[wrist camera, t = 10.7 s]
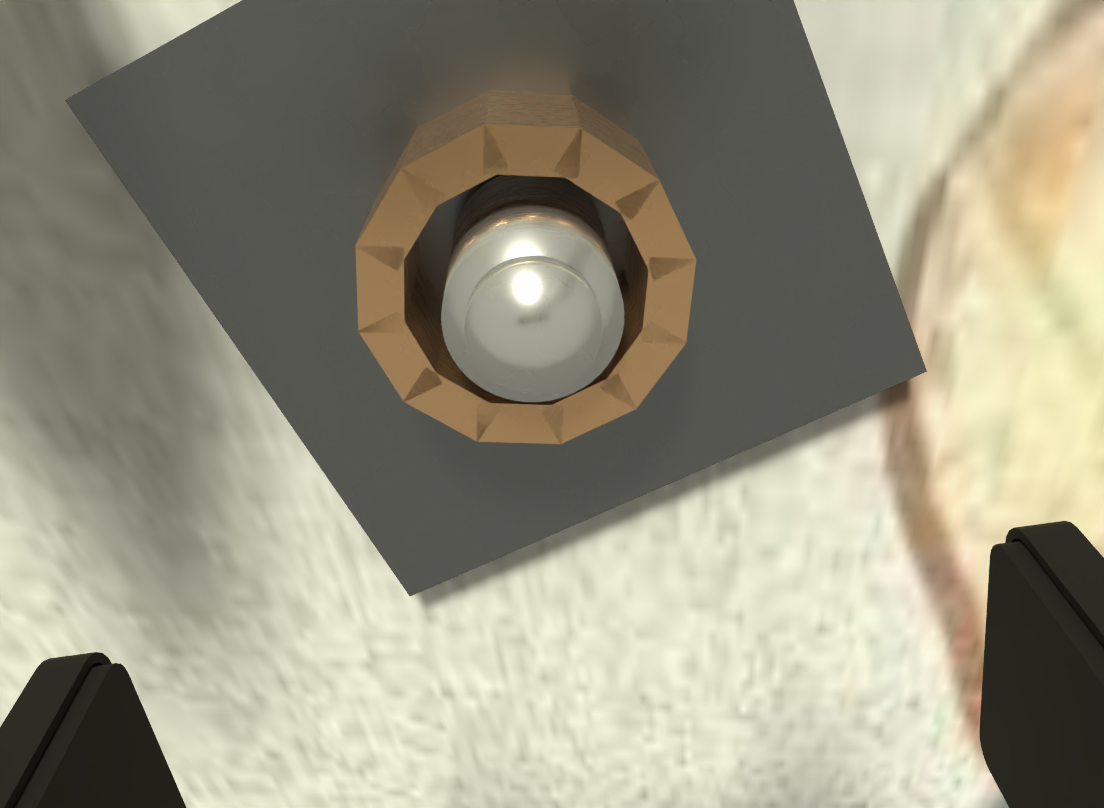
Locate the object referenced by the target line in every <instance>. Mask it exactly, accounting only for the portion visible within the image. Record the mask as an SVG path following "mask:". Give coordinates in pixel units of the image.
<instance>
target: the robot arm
mask: <svg viewBox="0 0 1104 808" xmlns="http://www.w3.org/2000/svg"><path fill="white" fill-rule="evenodd" d="M980 742H981V747H982V751H983V755H984V758H985V761H986V764H987V766H988V768H989V770H990V772H991V774H992V776H993V778H994V780H995V782H996V783H997V785H998V787H999V789H1000V791H1001V793H1002V795H1003V797H1004V798H1005V800H1006V802H1007V804H1008V806H1009V808H1104V558H1103V557H1102V555H1101V554H1100V553H1099V552H1098V551H1097V550H1096V549H1095V547H1094V546H1093V545H1092V544H1091V543H1090V542H1089V541H1088V539H1087V538H1086V537H1085V536H1084V535H1083V534H1082V533H1081V531H1080V530H1079V529H1078V528H1077V527H1076V526H1075V525H1074V524H1072V523H1071V522H1067V521H1061V522H1054V523H1046V524H1039V525H1031V526H1024V527H1017V528H1013V529H1011V530H1009V532H1008V534H1007V536H1006V542H1005V543H1003V544H996V545H994V546H993V548H992V550H991V554H990V567H989V583H988V600H987V617H986V633H985V650H984V666H983V683H982V700H981V716H980ZM0 808H186V806H185V804H184V801H183V799H182V797H181V794H180V792H179V790H178V787H177V785H176V783H175V780H174V778H173V776H172V773H171V771H170V769H169V767H168V764H167V762H166V760H165V757H164V755H163V753H162V750H161V748H160V746H159V743H158V741H157V739H156V736H155V734H154V732H153V729H152V727H151V725H150V722H149V720H148V718H147V716H146V713H145V711H144V709H143V706H142V704H141V702H140V699H139V697H138V695H137V692H136V690H135V688H134V685H133V683H132V681H131V678H130V676H129V674H128V672H127V670H126V669H125V667H124V666H123V665H121V664H118V663H114V664H112V663H111V662H110V660H109V658H108V657H107V656H105V655H104V654H103V653H98V652H95V653H87V654H80V655H73V656H65V657H58V658H51V659H47V660H45V661H43V662H42V663H41V664H40V665H39V666H38V668H37V669H36V670H35V672H34V674H33V675H32V677H31V678H30V680H29V682H28V683H27V685H26V687H25V688H24V690H23V691H22V693H21V695H20V696H19V698H18V700H17V701H16V703H15V704H14V706H13V708H12V709H11V711H10V713H9V714H8V716H7V717H6V719H5V721H4V722H3V724H2V726H1V727H0Z"/></svg>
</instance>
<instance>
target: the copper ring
mask: <svg viewBox="0 0 1104 808" xmlns="http://www.w3.org/2000/svg"><path fill="white" fill-rule="evenodd" d="M497 174H498V175H520V176H543V177H565V178H567V179H568V180H570V181H571V182H573V183H574V184H576V185H578V186H579V187H581V188H582V189H584V190H585V191H587V192H588V193H590V194H592V195H593V196H595V197H596V198H598V199H599V200H601V201H602V202H604V203H606V204H607V205H609V206H610V207H612V208H613V209H615V210H616V211H618V212H620V213H621V215H622V217H623V219H624V221H625V223H626V225H627V227H628V234H627V245H626V257H625V268H624V272H623V273H622V275H621V276H620V277H619V279H618V284H619V288H620V291H621V295H622V299H623V304H624V328H623V334H622V337H621V341H620V344H619V347H618V349H617V351H616V353H615V355H614V357H613V358H612V360H611V361H610V363H609V364H608V366H607V367H606V368H605V369H604V371H603V372H602V373H601V374H600V375H599V376H598V377H597V378H596V379H594V380H593V381H592V382H591V383H589V384H588V385H587V386H585V387H584V388H582V389H580V390H578V391H576V392H575V393H573V394H570V395H568V396H565V397H562V398H559V399H555V400H551V401H543V402H521V401H514V400H510V399H505V398H503V397H500V396H497V395H494V394H492V393H490V392H488V391H486V390H484V389H483V388H481V387H480V386H478V385H477V384H475V383H474V382H473V381H472V380H470V379H469V378H468V377H467V376H466V375H465V374H464V373H463V372H462V371H461V370H460V368H459V367H458V366H457V364H456V363H455V361H454V360H453V358H452V357H451V355H450V353H449V351H448V349H447V346H446V343H445V340H444V336H443V331H442V323H441V311H442V300H441V299H440V297H439V295H438V294H437V292H436V290H435V289H434V287H433V285H432V284H431V282H430V280H429V279H428V277H427V275H426V274H425V272H424V270H423V268H422V267H421V265H420V263H419V234H420V233H421V231H422V230H423V228H424V226H425V225H426V223H427V221H428V220H429V218H430V216H431V215H432V213H433V212H434V210H435V208H436V207H437V205H439V204H441V203H443V202H445V201H447V200H449V199H451V198H453V197H454V196H456V195H458V194H460V193H462V192H464V191H466V190H468V189H470V188H472V187H474V186H476V185H478V184H479V183H481V182H483V181H485V180H487V179H489V178H491V177H493V176H495V175H497ZM355 247H356V276H357V307H358V332H359V333H360V335H361V336H362V338H363V340H364V341H365V343H366V344H367V346H368V347H369V349H370V350H371V352H372V354H373V355H374V357H375V358H376V360H377V361H378V363H379V364H380V366H381V367H382V369H383V371H384V372H385V374H386V375H387V377H388V378H389V380H390V381H391V383H392V384H393V386H394V388H395V389H396V391H397V392H398V394H399V395H400V397H401V398H402V400H403V402H405V403H407V404H409V405H410V406H412V407H414V408H416V409H418V410H420V411H422V412H423V413H425V414H427V415H429V416H431V417H433V418H434V419H436V420H438V421H440V422H442V423H444V424H445V425H447V426H449V427H451V428H453V429H455V430H457V431H458V432H460V433H462V434H464V435H466V436H468V437H469V438H471V439H473V440H475V441H476V442H505V443H539V444H562V443H564V442H566V441H569V440H571V439H573V438H575V437H577V436H579V435H581V434H584V433H586V432H588V431H590V430H592V429H594V428H597V427H599V426H601V425H603V424H605V423H607V422H610V421H612V420H614V419H616V418H618V417H620V416H622V415H625V414H627V413H629V412H631V411H633V410H636V409H637V407H638V406H639V405H640V403H641V402H642V401H643V399H644V398H645V397H646V396H647V394H648V393H649V392H650V390H651V389H652V388H653V386H654V385H655V384H656V382H657V381H658V380H659V378H660V377H661V376H662V374H663V373H664V372H665V370H666V369H667V368H668V366H669V365H670V364H671V363H672V361H673V360H674V359H675V357H676V356H677V355H678V353H679V352H680V351H681V349H682V348H683V347H684V345H685V344H686V343H687V342H686V341H687V332H688V324H689V316H690V308H691V299H692V291H693V283H694V275H695V266H696V257H695V255H694V253H693V251H692V249H691V247H690V245H689V243H688V241H687V239H686V237H685V234H684V232H683V230H682V228H681V226H680V224H679V221H678V219H677V217H676V215H675V213H674V211H673V209H672V206H671V204H670V202H669V200H668V198H667V196H666V193H665V191H664V189H663V187H662V185H661V183H660V180H659V178H658V176H657V174H656V172H655V170H654V168H653V166H652V165H651V163H650V161H649V159H648V157H647V155H646V153H645V151H644V149H643V148H642V146H641V144H640V142H639V140H638V139H637V138H636V137H634V136H633V135H631V134H630V133H628V132H627V131H625V130H624V129H622V128H621V127H619V126H618V125H616V124H615V123H613V122H612V121H610V120H609V119H607V118H606V117H604V116H603V115H601V114H600V113H598V112H597V111H595V110H594V109H592V108H591V107H589V106H588V105H586V104H585V103H583V102H582V101H580V100H579V99H577V98H576V97H574V96H573V95H571V94H561V93H541V92H521V91H500V90H487V91H486V92H484V93H482V94H480V95H478V96H476V97H474V98H473V99H471V100H469V101H467V102H465V103H463V104H461V105H460V106H458V107H456V108H454V109H452V110H450V111H448V112H447V113H445V114H443V115H441V116H439V117H437V118H435V119H434V120H432V121H430V122H428V123H426V124H424V125H422V126H420V127H419V128H417V129H416V131H415V133H414V134H413V136H412V138H411V139H410V141H409V143H408V145H407V146H406V148H405V150H404V151H403V153H402V155H401V157H400V158H399V160H398V162H397V163H396V165H395V167H394V169H393V170H392V172H391V174H390V175H389V177H388V179H387V181H386V182H385V184H384V186H383V187H382V189H381V191H380V193H379V194H378V195H377V198H376V200H375V202H374V205H373V207H372V209H371V211H370V214H369V216H368V218H367V220H366V223H365V225H364V227H363V230H362V232H361V234H360V236H359V239H358V241H357V243H356V246H355Z"/></svg>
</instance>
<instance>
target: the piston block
mask: <svg viewBox="0 0 1104 808" xmlns="http://www.w3.org/2000/svg"><path fill="white" fill-rule="evenodd" d="M487 90H500V91H521V92H541V93H561V94H571V95H573V96H574V97H576V98H577V99H579V100H580V101H582V102H583V103H585V104H586V105H588V106H589V107H591V108H592V109H594V110H595V111H597V112H598V113H600V114H601V115H603V116H604V117H606V118H607V119H609V120H610V121H612V122H613V123H615V124H616V125H618V126H619V127H621V128H622V129H624V130H625V131H627V132H628V133H630V134H631V135H633V136H634V137H636V138H637V139H638V140H639V142H640V144H641V146H642V148H643V149H644V151H645V153H646V155H647V157H648V159H649V161H650V163H651V165H652V166H653V168H654V170H655V172H656V174H657V176H658V178H659V180H660V183H661V185H662V187H663V189H664V191H665V193H666V196H667V198H668V200H669V202H670V204H671V206H672V209H673V211H674V213H675V215H676V217H677V219H678V221H679V224H680V226H681V228H682V230H683V232H684V234H685V237H686V239H687V241H688V243H689V245H690V247H691V249H692V251H693V253H694V255H695V257H696V266H695V275H694V283H693V291H692V299H691V308H690V316H689V324H688V332H687V341H686V342H687V343H686V344H685V345H684V347H683V348H682V349H681V351H680V352H679V353H678V355H677V356H676V357H675V359H674V360H673V361H672V363H671V364H670V365H669V366H668V368H667V369H666V370H665V372H664V373H663V374H662V376H661V377H660V378H659V380H658V381H657V382H656V384H655V385H654V386H653V388H652V389H651V390H650V392H649V393H648V394H647V396H646V397H645V398H644V399H643V401H642V402H641V403H640V405H639V406H638V407H637V409H636V410H633V411H631V412H629V413H627V414H625V415H622V416H620V417H618V418H616V419H614V420H612V421H610V422H607V423H605V424H603V425H601V426H599V427H597V428H594V429H592V430H590V431H588V432H586V433H584V434H581V435H579V436H577V437H575V438H573V439H571V440H569V441H566V442H564V443H562V444H539V443H505V442H476V441H475V440H473V439H471V438H469V437H468V436H466V435H464V434H462V433H460V432H458V431H457V430H455V429H453V428H451V427H449V426H447V425H445V424H444V423H442V422H440V421H438V420H436V419H434V418H433V417H431V416H429V415H427V414H425V413H423V412H422V411H420V410H418V409H416V408H414V407H412V406H410V405H409V404H407V403H405V402H403V400H402V398H401V397H400V395H399V394H398V392H397V391H396V389H395V388H394V386H393V384H392V383H391V381H390V380H389V378H388V377H387V375H386V374H385V372H384V371H383V369H382V367H381V366H380V364H379V363H378V361H377V360H376V358H375V357H374V355H373V354H372V352H371V350H370V349H369V347H368V346H367V344H366V343H365V341H364V340H363V338H362V336H361V335H360V333H359V332H358V307H357V276H356V247H355V246H356V243H357V241H358V239H359V236H360V234H361V232H362V230H363V227H364V225H365V223H366V220H367V218H368V216H369V214H370V211H371V209H372V207H373V205H374V202H375V200H376V198H377V195H378V194H379V193H380V191H381V189H382V187H383V186H384V184H385V182H386V181H387V179H388V177H389V175H390V174H391V172H392V170H393V169H394V167H395V165H396V163H397V162H398V160H399V158H400V157H401V155H402V153H403V151H404V150H405V148H406V146H407V145H408V143H409V141H410V139H411V138H412V136H413V134H414V133H415V131H416V129H417V128H419V127H420V126H422V125H424V124H426V123H428V122H430V121H432V120H434V119H435V118H437V117H439V116H441V115H443V114H445V113H447V112H448V111H450V110H452V109H454V108H456V107H458V106H460V105H461V104H463V103H465V102H467V101H469V100H471V99H473V98H474V97H476V96H478V95H480V94H482V93H484V92H486V91H487ZM65 101H66V102H67V104H68V105H69V107H70V108H71V109H72V111H73V112H74V114H75V115H76V117H77V118H78V119H79V121H80V122H81V124H82V125H83V127H84V128H85V130H86V131H87V132H88V134H89V135H90V137H91V138H92V140H93V141H94V142H95V144H96V145H97V147H98V148H99V150H100V151H101V153H102V154H103V155H104V157H105V158H106V160H107V161H108V163H109V164H110V166H111V167H112V168H113V170H114V171H115V173H116V174H117V176H118V177H119V178H120V180H121V181H122V183H123V184H124V186H125V187H126V189H127V190H128V191H129V193H130V194H131V196H132V197H133V199H134V200H135V201H136V203H137V204H138V206H139V207H140V209H141V210H142V212H143V213H144V214H145V216H146V217H147V219H148V220H149V222H150V223H151V225H152V226H153V227H154V229H155V230H156V232H157V233H158V235H159V236H160V237H161V239H162V240H163V242H164V243H165V245H166V246H167V248H168V249H169V250H170V252H171V253H172V255H173V256H174V258H175V259H176V260H177V262H178V263H179V265H180V266H181V268H182V269H183V271H184V272H185V273H186V275H187V276H188V278H189V279H190V281H191V282H192V284H193V285H194V286H195V288H196V289H197V291H198V292H199V294H200V295H201V296H202V298H203V299H204V301H205V302H206V304H207V305H208V307H209V308H210V309H211V311H212V312H213V314H214V315H215V317H216V318H217V319H218V321H219V322H220V324H221V325H222V327H223V328H224V330H225V331H226V332H227V334H228V335H229V337H230V338H231V340H232V341H233V343H234V344H235V345H236V347H237V348H238V350H239V351H240V353H241V354H242V355H243V357H244V358H245V360H246V361H247V363H248V364H249V366H250V367H251V368H252V370H253V371H254V373H255V374H256V376H257V377H258V378H259V380H260V381H261V383H262V384H263V386H264V387H265V389H266V390H267V391H268V393H269V394H270V396H271V397H272V399H273V400H274V402H275V403H276V404H277V406H278V407H279V409H280V410H281V412H282V413H283V414H284V416H285V417H286V419H287V420H288V422H289V423H290V425H291V426H292V427H293V429H294V430H295V432H296V433H297V435H298V436H299V437H300V439H301V440H302V442H303V443H304V445H305V446H306V448H307V449H308V450H309V452H310V453H311V455H312V456H313V458H314V459H315V460H316V462H317V463H318V465H319V466H320V468H321V469H322V471H323V472H324V473H325V475H326V476H327V478H328V479H329V481H330V482H331V484H332V485H333V486H334V488H335V489H336V491H337V492H338V494H339V495H340V496H341V498H342V499H343V501H344V502H345V504H346V505H347V507H348V508H349V509H350V511H351V512H352V514H353V515H354V517H355V518H356V519H357V521H358V522H359V524H360V525H361V527H362V528H363V530H364V531H365V532H366V534H367V535H368V537H369V538H370V540H371V541H372V543H373V544H374V545H375V547H376V548H377V550H378V551H379V553H380V554H381V555H382V557H383V558H384V560H385V561H386V563H387V564H388V566H389V567H390V568H391V570H392V571H393V573H394V574H395V576H396V577H397V578H398V580H399V581H400V583H401V584H402V586H403V587H404V589H405V590H406V591H407V593H408V594H409V596H412V595H414V594H416V593H419V592H421V591H423V590H426V589H428V588H430V587H433V586H435V585H437V584H439V583H442V582H444V581H446V580H449V579H451V578H453V577H456V576H458V575H460V574H462V573H465V572H467V571H469V570H472V569H474V568H476V567H479V566H481V565H483V564H485V563H488V562H490V561H492V560H495V559H497V558H499V557H502V556H504V555H506V554H508V553H511V552H513V551H515V550H518V549H520V548H522V547H524V546H527V545H529V544H531V543H534V542H536V541H538V540H541V539H543V538H545V537H547V536H550V535H552V534H554V533H557V532H559V531H561V530H564V529H566V528H568V527H570V526H573V525H575V524H577V523H580V522H582V521H584V520H587V519H589V518H591V517H593V516H596V515H598V514H600V513H603V512H605V511H607V510H610V509H612V508H614V507H616V506H619V505H621V504H623V503H626V502H628V501H630V500H632V499H635V498H637V497H639V496H642V495H644V494H646V493H649V492H651V491H653V490H655V489H658V488H660V487H662V486H665V485H667V484H669V483H672V482H674V481H676V480H678V479H681V478H683V477H685V476H688V475H690V474H692V473H695V472H697V471H699V470H701V469H704V468H706V467H708V466H711V465H713V464H715V463H718V462H720V461H722V460H724V459H727V458H729V457H731V456H734V455H736V454H738V453H741V452H743V451H745V450H747V449H750V448H752V447H754V446H757V445H759V444H761V443H763V442H766V441H768V440H770V439H773V438H775V437H777V436H780V435H782V434H784V433H786V432H789V431H791V430H793V429H796V428H798V427H800V426H803V425H805V424H807V423H809V422H812V421H814V420H816V419H819V418H821V417H823V416H826V415H828V414H830V413H832V412H835V411H837V410H839V409H842V408H844V407H846V406H849V405H851V404H853V403H855V402H858V401H860V400H862V399H865V398H867V397H869V396H872V395H874V394H876V393H878V392H881V391H883V390H885V389H888V388H890V387H892V386H894V385H897V384H899V383H901V382H904V381H906V380H908V379H911V378H913V377H915V376H917V375H920V374H922V373H924V372H927V371H926V368H925V365H924V362H923V359H922V357H921V354H920V351H919V348H918V346H917V343H916V340H915V337H914V334H913V332H912V329H911V326H910V323H909V321H908V318H907V315H906V312H905V309H904V307H903V304H902V301H901V298H900V295H899V293H898V290H897V287H896V284H895V282H894V279H893V276H892V273H891V270H890V268H889V265H888V262H887V259H886V257H885V254H884V251H883V248H882V245H881V243H880V240H879V237H878V234H877V232H876V229H875V226H874V223H873V220H872V218H871V215H870V212H869V209H868V207H867V204H866V201H865V198H864V195H863V193H862V190H861V187H860V184H859V181H858V179H857V176H856V173H855V170H854V168H853V165H852V162H851V159H850V156H849V154H848V151H847V148H846V145H845V143H844V140H843V137H842V134H841V131H840V129H839V126H838V123H837V120H836V118H835V115H834V112H833V109H832V106H831V104H830V101H829V98H828V95H827V93H826V90H825V87H824V84H823V81H822V79H821V76H820V73H819V70H818V67H817V65H816V62H815V59H814V56H813V54H812V51H811V48H810V45H809V42H808V40H807V37H806V34H805V31H804V29H803V26H802V23H801V20H800V17H799V15H798V12H797V9H796V6H795V4H794V1H793V0H242V1H240V2H239V3H237V4H235V5H233V6H232V7H230V8H228V9H226V10H224V11H223V12H221V13H219V14H217V15H216V16H214V17H212V18H210V19H208V20H207V21H205V22H203V23H201V24H200V25H198V26H196V27H194V28H192V29H191V30H189V31H187V32H185V33H184V34H182V35H180V36H178V37H177V38H175V39H173V40H171V41H169V42H168V43H166V44H164V45H162V46H161V47H159V48H157V49H155V50H153V51H152V52H150V53H148V54H146V55H145V56H143V57H141V58H139V59H137V60H136V61H134V62H132V63H130V64H129V65H127V66H125V67H123V68H122V69H120V70H118V71H116V72H114V73H113V74H111V75H109V76H107V77H106V78H104V79H102V80H100V81H98V82H97V83H95V84H93V85H91V86H90V87H88V88H86V89H84V90H83V91H81V92H79V93H77V94H75V95H74V96H72V97H70V98H68V99H67V100H65ZM627 234H628V227H627V225H626V223H625V221H624V219H623V217H622V215H621V213H620V212H618V211H616V210H615V209H613V208H612V207H610V206H609V205H607V204H606V203H604V202H602V201H601V200H599V199H598V198H596V197H595V196H593V195H592V194H590V193H588V192H587V191H585V190H584V189H582V188H581V187H579V186H578V185H576V184H574V183H573V182H571V181H570V180H568V179H567V178H565V177H543V176H520V175H498V174H497V175H495V176H493V177H491V178H489V179H487V180H485V181H483V182H481V183H479V184H478V185H476V186H474V187H472V188H470V189H468V190H466V191H464V192H462V193H460V194H458V195H456V196H454V197H453V198H451V199H449V200H447V201H445V202H443V203H441V204H439V205H437V207H436V208H435V210H434V212H433V213H432V215H431V216H430V218H429V220H428V221H427V223H426V225H425V226H424V228H423V230H422V231H421V233H420V234H419V263H420V265H421V267H422V268H423V270H424V272H425V274H426V275H427V277H428V279H429V280H430V282H431V284H432V285H433V287H434V289H435V290H436V292H437V294H438V295H439V297H440V299H441V300H442V311H441V323H442V331H443V336H444V340H445V343H446V346H447V349H448V351H449V353H450V355H451V357H452V358H453V360H454V361H455V363H456V364H457V366H458V367H459V368H460V370H461V371H462V372H463V373H464V374H465V375H466V376H467V377H468V378H469V379H470V380H472V381H473V382H474V383H475V384H477V385H478V386H480V387H481V388H483V389H484V390H486V391H488V392H490V393H492V394H494V395H497V396H500V397H503V398H505V399H510V400H514V401H521V402H543V401H551V400H555V399H559V398H562V397H565V396H568V395H570V394H573V393H575V392H576V391H578V390H580V389H582V388H584V387H585V386H587V385H588V384H589V383H591V382H592V381H593V380H594V379H596V378H597V377H598V376H599V375H600V374H601V373H602V372H603V371H604V369H605V368H606V367H607V366H608V364H609V363H610V361H611V360H612V358H613V357H614V355H615V353H616V351H617V349H618V347H619V344H620V341H621V337H622V334H623V328H624V304H623V299H622V295H621V291H620V288H619V284H618V279H619V277H620V276H621V275H622V273H623V272H624V268H625V257H626V245H627Z"/></svg>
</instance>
